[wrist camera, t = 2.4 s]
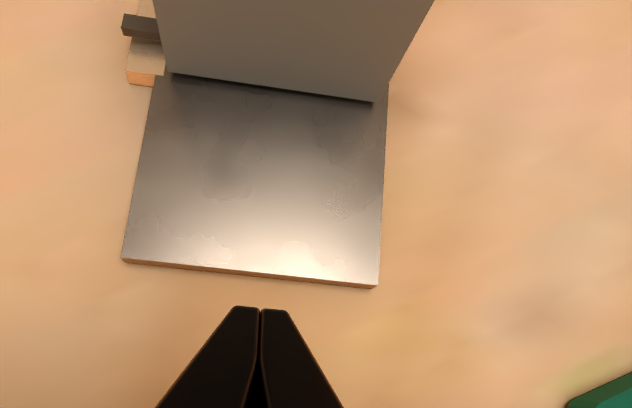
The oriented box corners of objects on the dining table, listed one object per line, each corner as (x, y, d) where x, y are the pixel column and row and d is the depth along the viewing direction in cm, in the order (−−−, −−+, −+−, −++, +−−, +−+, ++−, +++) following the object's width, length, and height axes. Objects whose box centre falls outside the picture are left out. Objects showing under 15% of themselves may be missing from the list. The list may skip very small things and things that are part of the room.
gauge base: (371, 289, 21) (378, 285, 20) (93, 258, 20) (86, 253, 19) (396, -159, 27) (402, -179, 26) (187, -201, 26) (185, -224, 25)
